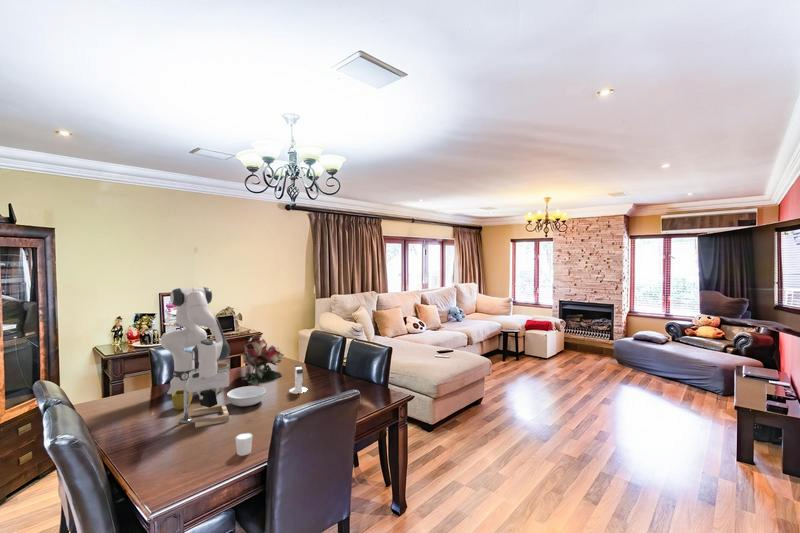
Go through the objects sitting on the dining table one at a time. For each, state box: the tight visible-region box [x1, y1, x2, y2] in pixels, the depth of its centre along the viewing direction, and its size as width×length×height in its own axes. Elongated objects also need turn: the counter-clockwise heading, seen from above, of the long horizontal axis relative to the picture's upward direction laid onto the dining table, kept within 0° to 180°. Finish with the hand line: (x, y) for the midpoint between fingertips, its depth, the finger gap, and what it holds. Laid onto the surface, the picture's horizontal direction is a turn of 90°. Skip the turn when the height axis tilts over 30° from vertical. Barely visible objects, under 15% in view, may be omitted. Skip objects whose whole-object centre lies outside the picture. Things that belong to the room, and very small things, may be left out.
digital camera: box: [198, 389, 218, 408], centre depth 199 cm, size 10×5×7 cm, turn 52°
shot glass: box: [235, 432, 254, 456], centre depth 165 cm, size 7×7×7 cm
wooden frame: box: [192, 403, 230, 428], centre depth 200 cm, size 18×16×3 cm
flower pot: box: [171, 390, 194, 411], centre depth 213 cm, size 9×9×9 cm
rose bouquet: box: [241, 334, 285, 386], centre depth 271 cm, size 26×29×30 cm
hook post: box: [178, 390, 194, 425], centre depth 194 cm, size 10×6×16 cm, turn 31°
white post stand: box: [289, 364, 309, 395], centre depth 242 cm, size 12×11×15 cm
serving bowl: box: [226, 385, 267, 407], centre depth 221 cm, size 21×21×7 cm
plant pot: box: [211, 362, 230, 393], centre depth 241 cm, size 15×15×16 cm
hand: (208, 397), depth 199 cm, fingers closed on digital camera, 5 cm apart
